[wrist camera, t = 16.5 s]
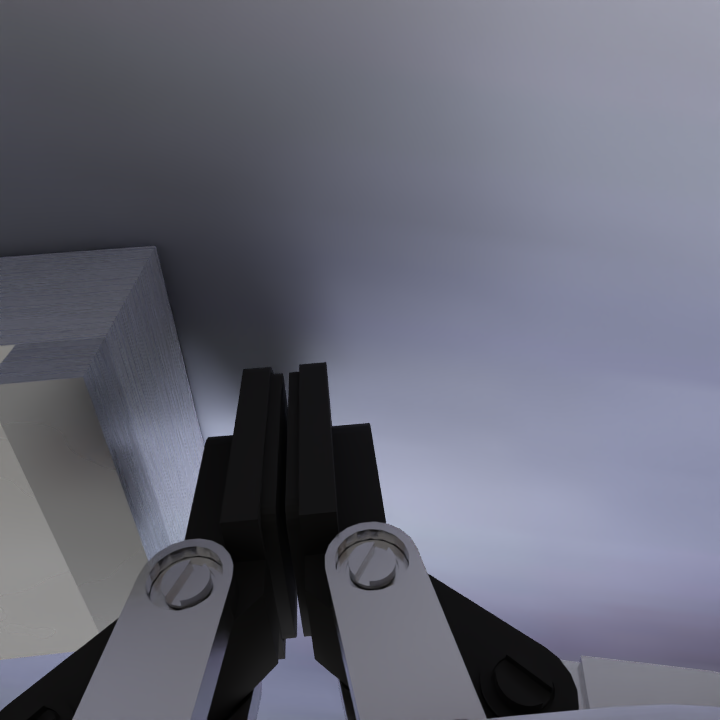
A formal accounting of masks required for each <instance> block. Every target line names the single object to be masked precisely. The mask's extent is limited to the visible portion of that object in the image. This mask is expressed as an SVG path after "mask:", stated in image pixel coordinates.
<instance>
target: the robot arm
mask: <svg viewBox="0 0 720 720" xmlns="http://www.w3.org/2000/svg"><path fill="white" fill-rule="evenodd" d="M297 596H298V602H299V608H300V614H301V621H302V627H303V633H304V636H312V642H313V649H314V656H315V660H317V661H318V662H319V663H320V664H321V665H323V666H324V667H325V668H326V669H327V670H328V671H330V672H331V673H332V674H333V675H334V676H336V677H337V678H338V684H339V690H340V695H341V700H342V705H343V709H344V714H345V719H346V720H720V673H717V672H713V671H706V670H698V669H689V668H681V667H673V666H664V665H656V664H647V663H639V662H631V661H622V660H614V659H605V658H597V657H588V656H581V657H580V661H579V662H573V661H564V660H560V659H559V658H558V657H557V656H555V655H554V654H553V653H552V652H551V651H549V650H548V649H547V648H546V647H544V646H542V645H541V644H539V643H538V642H536V641H534V640H533V639H531V638H530V637H528V636H526V635H525V634H523V633H522V632H520V631H518V630H517V629H515V628H514V627H512V626H510V625H509V624H507V623H506V622H504V621H503V620H501V619H499V618H498V617H496V616H495V615H493V614H491V613H490V612H488V611H487V610H485V609H483V608H482V607H480V606H479V605H477V604H475V603H474V602H472V601H471V600H469V599H468V598H466V597H464V596H463V595H461V594H460V593H458V592H456V591H455V590H453V589H452V588H450V587H448V586H447V585H445V584H444V583H442V582H440V581H439V580H437V579H436V578H434V577H432V576H431V575H429V574H428V573H427V571H426V568H425V566H424V563H423V561H422V558H421V556H420V553H419V551H418V548H417V547H416V545H415V543H414V542H413V540H412V539H411V537H410V536H408V535H407V534H406V533H405V532H404V531H402V530H401V529H399V528H397V527H395V526H392V525H390V524H387V523H386V519H385V513H384V507H383V501H382V494H381V488H380V482H379V476H378V470H377V464H376V457H375V451H374V445H373V439H372V433H371V427H370V423H365V424H354V425H342V426H332V421H331V410H330V398H329V387H328V376H327V365H326V362H324V363H312V364H300V365H299V372H290V373H289V396H288V405H287V398H286V390H285V383H284V376H283V373H279V374H273V370H272V367H265V368H253V369H244V370H243V375H242V381H241V388H240V394H239V401H238V407H237V414H236V420H235V427H234V433H233V435H229V436H218V437H208V439H207V440H206V443H205V446H204V451H203V456H202V460H201V465H200V470H199V474H198V479H197V484H196V488H195V493H194V498H193V502H192V507H191V512H190V516H189V521H188V526H187V530H186V535H185V540H183V541H180V542H177V543H174V544H172V545H169V546H168V547H166V548H164V549H163V550H161V551H159V552H158V553H156V554H155V555H154V556H153V557H152V558H151V559H150V560H149V561H148V562H147V563H146V564H145V565H144V567H143V569H142V570H141V572H140V573H139V575H138V577H137V579H136V581H135V583H134V585H133V588H132V590H131V592H130V594H129V596H128V599H127V601H126V603H125V605H124V607H123V610H122V612H121V614H120V616H119V618H118V619H116V620H115V621H114V622H113V623H111V624H110V625H109V626H107V627H106V628H105V629H104V630H102V631H101V632H100V633H99V634H97V635H96V636H95V637H93V638H92V639H91V640H90V641H88V642H87V643H86V644H85V645H83V646H82V647H81V648H79V649H78V650H77V651H76V652H74V653H73V654H72V655H71V656H69V657H68V658H67V659H65V660H64V661H63V662H62V663H60V664H59V665H58V666H57V667H55V668H54V669H53V670H51V671H50V672H49V673H48V674H46V675H45V676H44V677H43V678H41V679H40V680H39V681H37V682H36V683H35V684H34V685H32V686H31V687H30V688H29V689H27V690H26V691H25V692H23V693H22V694H21V695H20V696H18V697H17V698H16V699H15V700H13V701H12V702H11V703H9V704H8V705H7V706H6V707H5V708H3V709H2V710H1V711H0V720H256V719H257V714H258V709H259V704H260V699H261V690H262V682H261V681H262V680H263V678H264V677H265V676H266V675H267V674H268V673H269V672H270V671H271V670H272V669H273V668H274V667H275V666H276V665H277V664H278V659H285V643H286V639H287V638H296V636H297Z"/></svg>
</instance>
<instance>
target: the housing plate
mask: <svg viewBox="0 0 720 720" xmlns="http://www.w3.org/2000/svg"><path fill="white" fill-rule="evenodd" d="M203 451H204V444H203V439H202V435H201V431H200V427H199V423H198V419H197V415H196V410H195V406H194V402H193V398H192V394H191V390H190V386H189V381H188V377H187V373H186V369H185V365H184V361H183V357H182V353H181V348H180V344H179V340H178V336H177V332H176V328H175V324H174V319H173V315H172V311H171V307H170V303H169V299H168V295H167V290H166V286H165V282H164V278H163V274H162V270H161V266H160V262H159V257H158V253H157V249H156V246H144V247H131V248H118V249H104V250H91V251H77V252H64V253H51V254H37V255H24V256H10V257H0V660H3V659H12V658H21V657H30V656H38V655H47V654H56V653H65V652H74V651H77V650H78V649H79V648H81V647H82V646H83V645H85V644H86V643H87V642H88V641H90V640H91V639H92V638H93V637H95V636H96V635H97V634H99V633H100V632H101V631H102V630H104V629H105V628H106V627H107V626H109V625H110V624H111V623H113V622H114V621H115V620H116V619H118V618H119V616H120V614H121V612H122V610H123V607H124V605H125V603H126V601H127V599H128V596H129V594H130V592H131V590H132V588H133V585H134V583H135V581H136V579H137V577H138V575H139V573H140V572H141V570H142V569H143V567H144V565H145V564H146V563H147V562H148V561H149V560H150V559H151V558H152V557H153V556H154V555H155V554H156V553H158V552H159V551H161V550H163V549H164V548H166V547H168V546H169V545H172V544H174V543H177V542H180V541H183V540H185V535H186V530H187V526H188V521H189V516H190V512H191V507H192V502H193V498H194V493H195V488H196V484H197V479H198V474H199V470H200V465H201V460H202V456H203Z"/></svg>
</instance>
